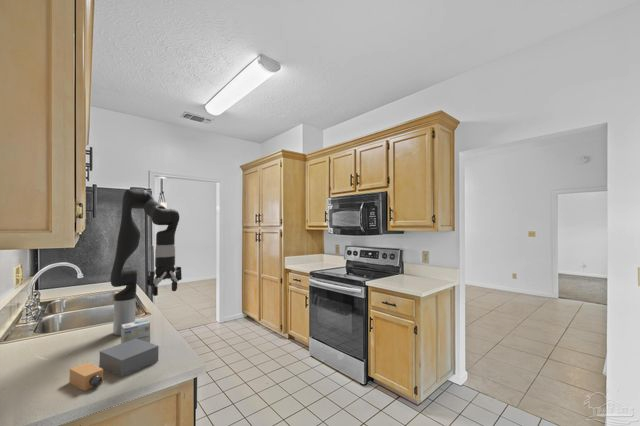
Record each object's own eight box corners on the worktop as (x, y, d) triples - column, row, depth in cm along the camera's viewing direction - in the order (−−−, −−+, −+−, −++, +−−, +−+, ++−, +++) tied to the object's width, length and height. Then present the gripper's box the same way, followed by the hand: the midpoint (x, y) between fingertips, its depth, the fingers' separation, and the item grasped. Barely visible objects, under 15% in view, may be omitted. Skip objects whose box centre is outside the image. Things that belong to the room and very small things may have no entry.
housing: (69, 382, 102) (69, 368, 102) (87, 375, 107) (87, 362, 107) (87, 393, 96) (87, 378, 96) (106, 384, 101) (106, 370, 101)
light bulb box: (146, 341, 137) (147, 318, 138) (150, 345, 133) (151, 322, 133) (120, 348, 130) (120, 324, 130) (123, 353, 125) (123, 328, 125)
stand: (99, 366, 113) (99, 351, 114) (136, 352, 126) (136, 338, 126) (121, 376, 106) (121, 360, 106) (158, 360, 118) (158, 345, 118)
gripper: (174, 253, 131) (174, 288, 131) (143, 256, 118) (142, 296, 118) (185, 254, 128) (185, 290, 127) (154, 257, 115) (154, 298, 115)
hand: (164, 293), depth 123 cm, fingers open, 8 cm apart
